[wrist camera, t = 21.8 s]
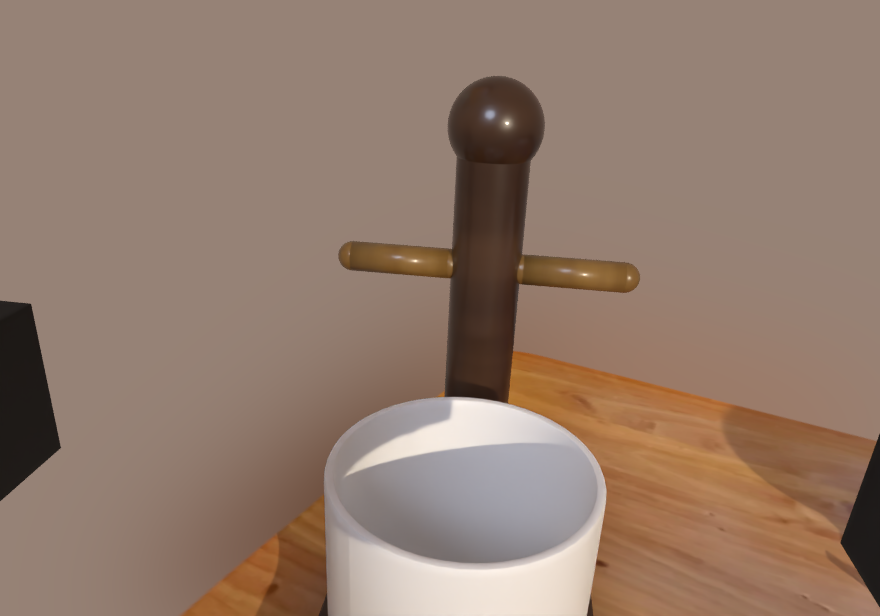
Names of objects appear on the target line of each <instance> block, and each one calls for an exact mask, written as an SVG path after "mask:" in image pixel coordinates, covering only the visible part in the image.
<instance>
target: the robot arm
mask: <svg viewBox="0 0 880 616" xmlns="http://www.w3.org/2000/svg"><path fill="white" fill-rule="evenodd" d="M60 448H61V447H60V442H59V437H58V432H57V427H56V422H55V418H54V413H53V408H52V403H51V398H50V393H49V389H48V384H47V379H46V374H45V369H44V365H43V360H42V355H41V350H40V345H39V340H38V335H37V330H36V326H35V321H34V316H33V311H32V306H31V304H26V303H17V302H7V301H0V501H1V500H2V499H3V498H4V497H5V496H6V495H8V494H9V493H10V492H11V491H12V490H13V489H15V488H16V487H17V486H18V485H19V484H20V483H21V482H23V481H24V480H25V479H26V478H27V477H28V476H29V475H31V474H32V473H33V472H34V471H35V470H36V469H37V468H38V467H40V466H41V465H42V464H43V463H44V462H45V461H46V460H48V458H50V457H51V456H52V455H53V454H54V453H56V452H57V451H58V450H59V449H60ZM841 544H842V546H843V548H844V549H845V551H846V553H847V554H848V556H849V558H850V559H851V561H852V563H853V564H854V566H855V568H856V569H857V571H858V572H859V574H860V576H861V577H862V579H863V581H864V582H865V584H866V586H867V587H868V589H869V591H870V592H871V594H872V595H873V597H874V599H875V600H876V602H877V604H878V605H879V607H880V435H879V437H878V440H877V443H876V446H875V448H874V451H873V454H872V457H871V459H870V462H869V465H868V468H867V470H866V473H865V476H864V479H863V482H862V484H861V487H860V490H859V493H858V495H857V498H856V501H855V504H854V507H853V509H852V512H851V515H850V518H849V520H848V523H847V526H846V529H845V531H844V534H843V537H842V540H841Z"/></svg>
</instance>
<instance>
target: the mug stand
mask: <svg viewBox="0 0 880 616" xmlns="http://www.w3.org/2000/svg"><path fill="white" fill-rule="evenodd" d="M544 127H545V122H544V114H543V110H542V107H541V105H540V103H539V101H538V99H537V98H536V96H535V95H534V93H533V92H532V91H531V90H530V89H529V88H528V87H526V86H525V85H524V84H523V83H521V82H519V81H517V80H515V79H512V78H508V77H504V76H491V77H486V78H483V79H480V80H478V81H475V82H473V83H472V84H470V85H469V86H467V87H466V88H465V89H464V90H463V91H462V92H461V93H460V94H459V96H458V97H457V98H456V100H455V102H454V104H453V106H452V108H451V111H450V115H449V118H448V135H449V140H450V144H451V146H452V148H453V151H454V152H455V154H456V156H457V165H456V185H455V204H454V223H453V242H452V249H445V248H433V247H421V246H408V245H395V244H382V243H369V242H357V241H356V242H355V241H350V242H347V243H345V244H344V245H343V246H342V247H341V249H340V250H339V254H338V255H339V261H340V263H341V265H342V266H343V267H345V268H346V269H349V270H356V271H367V272H379V273H391V274H403V275H416V276H428V277H440V278H451V282H450V302H449V321H448V341H447V361H446V379H445V397H469V398H479V399H486V400H492V401H498V402H502V403H507V404H508V398H509V387H510V376H511V366H512V355H513V344H514V333H515V323H516V312H517V301H518V291H519V284H524V285H537V286H549V287H561V288H572V289H584V290H596V291H609V292H621V293H627V292H630V291H632V290H634V289H635V288H636V287H637V285H638V284H639V281H640V274H639V271H638V270H637V268H636V267H635V266H634V265H632V264H629V263H625V262H612V261H600V260H599V261H598V260H586V259H574V258H561V257H548V256H536V255H522V247H523V237H524V227H525V216H526V205H527V194H528V184H529V173H530V161H531V160H532V158H533V157H534V156H535V154H536V152H537V151H538V149H539V147H540V145H541V142H542V139H543V135H544ZM319 616H328V602H327V594H326V597H325V600H324V603H323V605H322V608H321V611H320V614H319ZM587 616H593V610H592V600H591V594H590V600H589V606H588V612H587Z"/></svg>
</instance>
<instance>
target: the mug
mask: <svg viewBox="0 0 880 616" xmlns="http://www.w3.org/2000/svg"><path fill="white" fill-rule="evenodd" d="M606 492H607V490H606V485H605V479H604V476H603V473H602V471H601V468H600V466H599V464H598V462H597V460H596V459H595V457H594V455H593V454H592V453H591V452H590V450H589V449H588V448H587V447H586V446H585V445H584V444H583V443H582V442H581V441H580V440H579V439H578V438H577V437H576V436H575V435H573V434H572V433H571V432H569V431H568V430H567V429H565V428H564V427H562V426H560V425H559V424H557V423H555V422H554V421H552V420H550V419H548V418H546V417H544V416H542V415H540V414H537V413H535V412H532V411H530V410H527V409H524V408H521V407H518V406H514V405H511V404H507V403H502V402H498V401H492V400H486V399H479V398H469V397H436V398H427V399H420V400H414V401H409V402H404V403H401V404H397V405H393V406H390V407H387V408H385V409H382V410H380V411H377V412H375V413H373V414H371V415H369V416H367V417H365V418H364V419H362V420H360V421H359V422H357V423H356V424H355V425H353V426H352V427H351V428H349V429H348V430H347V431H346V432H345V433H344V434H343V435H342V436H341V437H340V438H339V440H338V441H337V442H336V444H335V445H334V447H333V449H332V451H331V453H330V455H329V457H328V459H327V462H326V466H325V470H324V503H325V536H326V569H327V602H328V616H587V612H588V606H589V600H590V594H591V588H592V582H593V576H594V571H595V565H596V559H597V553H598V547H599V541H600V535H601V529H602V523H603V518H604V512H605V506H606Z"/></svg>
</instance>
